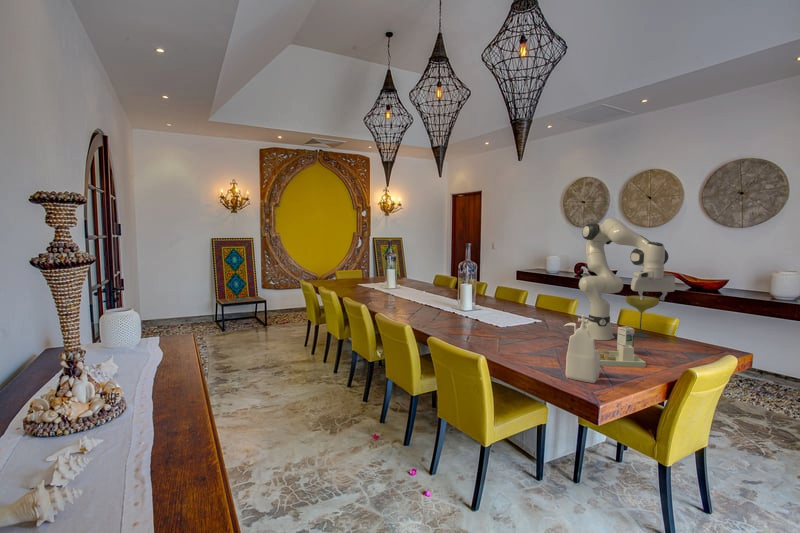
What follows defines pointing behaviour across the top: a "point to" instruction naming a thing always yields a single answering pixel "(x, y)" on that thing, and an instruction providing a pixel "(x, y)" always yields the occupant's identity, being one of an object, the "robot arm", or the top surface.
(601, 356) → the maple block
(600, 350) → the maple block
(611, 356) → the maple block
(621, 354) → the cream hollow square tube
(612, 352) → the tray
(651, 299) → the cocktail glass
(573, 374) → the cream tall nozzled container
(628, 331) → the syrup box
